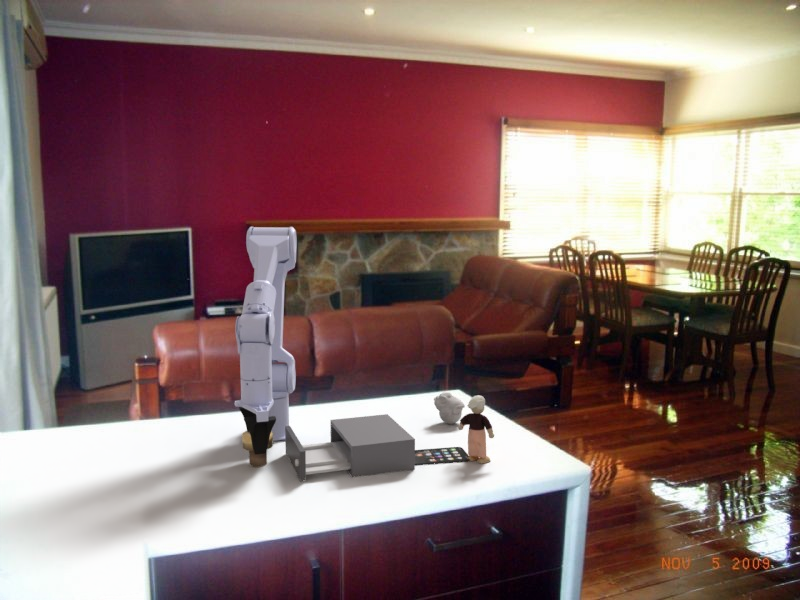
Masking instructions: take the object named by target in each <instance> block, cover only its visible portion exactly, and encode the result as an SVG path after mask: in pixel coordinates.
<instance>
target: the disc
mask: <svg viewBox="0 0 800 600" xmlns="http://www.w3.org/2000/svg"><path fill="white" fill-rule="evenodd" d="M241 434H242V435H241V436H242V437H241V439H242V449H243V450H245V451H248V452H249V451H254V450H253V446H252V441H251V435H250V432H249V430H248V431H247V430H245V431H244V432H242V433H241ZM273 446H274V441H273V432H272V431H271V433H270V437H269V442H268V448H267V450H269V449H272V448H273Z"/></svg>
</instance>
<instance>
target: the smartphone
mask: <svg viewBox="0 0 800 600" xmlns="http://www.w3.org/2000/svg"><path fill="white" fill-rule="evenodd" d="M468 456H469V454H468V453H467V452H466V450H465V449H464V448H463V447H461V446H453V447H438V448H425V449H415V466H424V465H423V464H428V465H439V464H438V463H443V464H454V463H453V462H457V463H467V462H468V461H469V462H471V461H470V459H468ZM434 463H435V464H434Z"/></svg>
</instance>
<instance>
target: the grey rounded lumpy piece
mask: <svg viewBox="0 0 800 600" xmlns="http://www.w3.org/2000/svg"><path fill="white" fill-rule="evenodd" d="M433 401H434V402H433V403H434V406H435V408H436V409H437V410H438V411H439V417H440V419H441V421H442V422H444V423H445V424H448V425H454V424H456V423H457V422H460V420H461V419H462V415H463V413H462V411H463V409H464V408H465V407H466V406H465V405H466V404H465V403H464V402H463V401H462V400H461V399H459V398H457V397H456V396H454V395H453V394H452V393H451V392H446V391H445V392H441V393H440V394H439V395H437V396H435V397H434V398H433Z"/></svg>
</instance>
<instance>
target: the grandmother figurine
mask: <svg viewBox="0 0 800 600" xmlns="http://www.w3.org/2000/svg"><path fill="white" fill-rule="evenodd" d="M485 404H486V399H485V398H484V396H482V395H479V394H478V395H473V396H472V397H471V399H470V400H469V401H468V403H467V408H468V409H470V410H471V412H472V413H471V412H470V413H468V414H465V415H464V416H463V417H461V418H460V419H459V425H458V427H457V429H458V430H459V431H462V430H464V427H465V426H468V425H469V427H468V434H467V452H468V453H467V454H468V459H470V461H469V462H475V461H476V462H477V463H478V464H486V463H490V462H491V458H490V457H489V456H488V455H487V436H486V435H487V434H488V438H490V439H494V438H495V434H494V430H493V425H492V424H491V422H490V420H489V419H488V416H485V415H483V414H482V413H483V412H484V411H485V407H486V405H485ZM486 432H487V434H486Z"/></svg>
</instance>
